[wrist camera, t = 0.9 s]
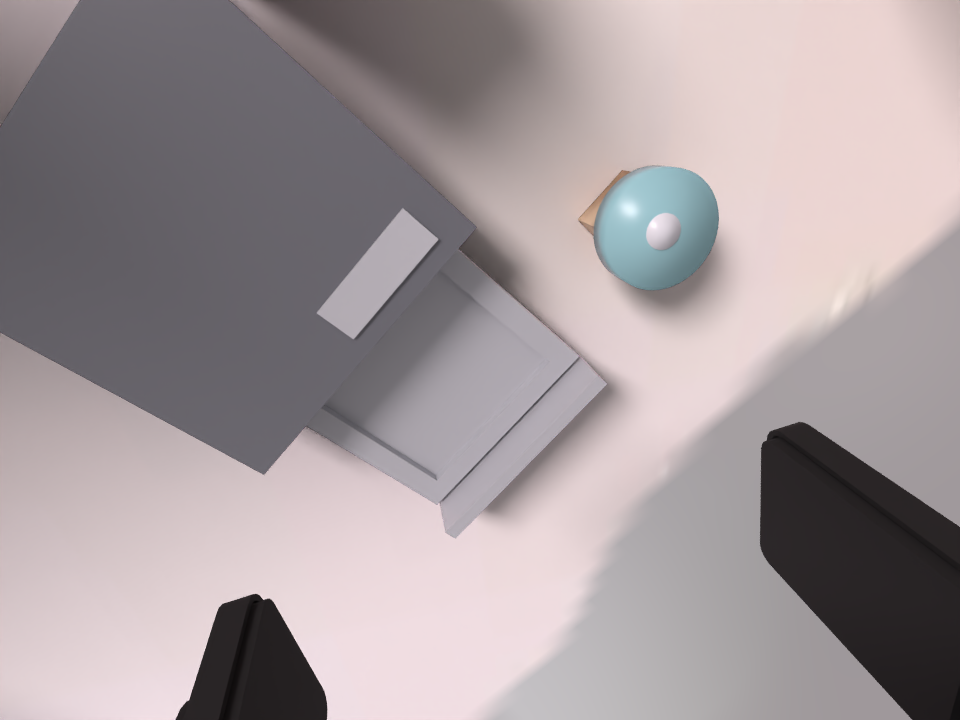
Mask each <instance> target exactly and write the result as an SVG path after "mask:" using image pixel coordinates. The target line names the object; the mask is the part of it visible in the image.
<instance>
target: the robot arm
mask: <svg viewBox="0 0 960 720" xmlns="http://www.w3.org/2000/svg"><path fill="white" fill-rule="evenodd" d="M760 546H761V550H762V552H763V555H764V557H765V558H766V560H767V561H768V563H769V564H770V565H771V566H772V567H773V568H774V569H775V571H776V572H777V573H778V574H779V575H780V576H781V577H782V578H783V579H784V580H785V581H786V582H787V584H788V585H789V586H790V587H791V588H792V589H793V590H794V591H795V592H796V593H797V595H798V596H799V597H800V598H801V599H802V600H803V601H804V602H805V603H806V604H807V605H808V607H809V608H810V609H811V610H812V611H813V612H814V613H815V614H816V615H817V616H818V617H819V618H820V620H821V621H822V622H823V623H824V624H825V625H826V626H827V627H828V628H829V629H830V630H831V632H832V633H833V634H834V635H835V636H836V637H837V638H838V639H839V640H840V641H841V642H842V644H843V645H844V646H845V647H846V648H847V649H848V650H849V651H850V652H851V653H852V654H853V656H854V657H855V658H856V659H857V660H858V661H859V662H860V663H861V664H862V665H863V666H864V667H865V669H866V670H867V671H868V672H869V673H870V674H871V675H872V676H873V677H874V678H875V680H876V681H877V682H878V683H879V684H880V685H881V686H882V687H883V688H884V689H885V690H886V692H887V693H888V694H889V695H890V696H891V697H892V698H893V699H894V700H895V701H896V702H897V704H898V705H899V706H900V707H901V708H902V709H903V710H904V711H905V712H906V713H907V714H908V715H909V717H910V718H911V719H912V720H960V527H959V526H958V525H956V524H955V523H953V522H952V521H950V520H949V519H947V518H946V517H944V516H943V515H941V514H940V513H938V512H937V511H935V510H934V509H932V508H931V507H929V506H928V505H926V504H925V503H923V502H922V501H921V500H919V499H918V498H916V497H915V496H913V495H912V494H910V493H909V492H907V491H906V490H904V489H903V488H901V487H900V486H898V485H897V484H895V483H894V482H892V481H891V480H889V479H888V478H886V477H885V476H883V475H882V474H881V473H879V472H877V471H876V470H875V469H873V468H872V467H870V466H868V465H867V464H866V463H864V462H863V461H861V460H860V459H858V458H857V457H855V456H854V455H852V454H851V453H850V452H848V451H847V450H845V449H844V448H842V447H841V446H839V445H838V444H836V443H835V442H833V441H832V440H830V439H829V438H827V437H826V436H824V435H823V434H821V433H820V432H818V431H817V430H815V429H814V428H812V427H811V426H810V425H808V424H806V423H803V422H798V423H795V424H792V425H789V426H785V427H782V428H779V429H776V430H773V431H771V432H769V434H768V436H767V441H765V442H763V444H762V448H761V517H760ZM176 720H327V701H326V696H325V692H324V690H323V688H322V686H321V685H320V683H319V681H318V679H317V678H316V676H315V674H314V672H313V671H312V669H311V667H310V665H309V664H308V662H307V660H306V658H305V657H304V655H303V653H302V651H301V649H300V648H299V646H298V644H297V642H296V641H295V639H294V637H293V635H292V634H291V632H290V630H289V628H288V627H287V625H286V623H285V621H284V620H283V618H282V616H281V614H280V613H279V611H278V609H277V607H276V606H275V604H274V602H273V601H272V600H271V599H265V600H263V599H262V598H261V597H260V595H258V594H253V595H249V596H246V597H243V598H240V599H237V600H234V601H230V602H227V603H224V604H222V605H221V606H220V607H219V609H218V611H217V614H216V617H215V620H214V624H213V627H212V630H211V633H210V636H209V639H208V643H207V646H206V649H205V652H204V655H203V658H202V662H201V665H200V668H199V671H198V674H197V677H196V681H195V684H194V687H193V690H192V693H191V696H190V700H189V701H187V702H186V703H185V704H184V705H183V707H182V708H181V709H180V711H179V713H178V716H177V718H176Z"/></svg>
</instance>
